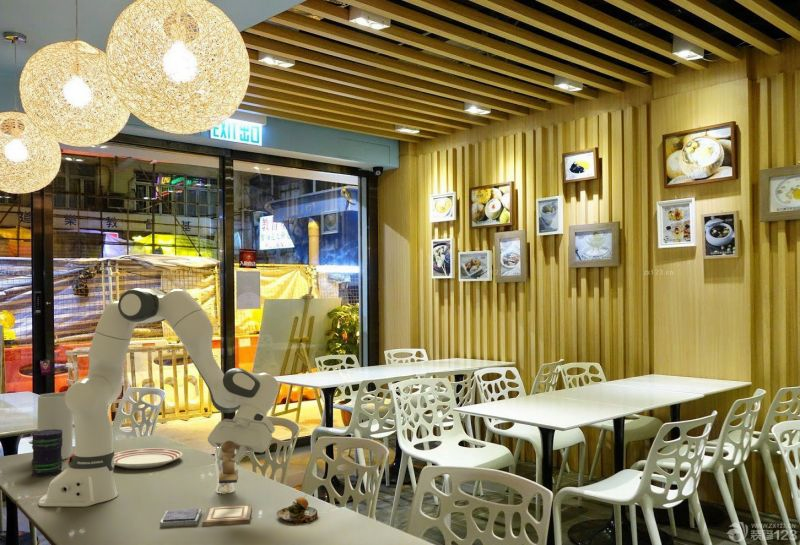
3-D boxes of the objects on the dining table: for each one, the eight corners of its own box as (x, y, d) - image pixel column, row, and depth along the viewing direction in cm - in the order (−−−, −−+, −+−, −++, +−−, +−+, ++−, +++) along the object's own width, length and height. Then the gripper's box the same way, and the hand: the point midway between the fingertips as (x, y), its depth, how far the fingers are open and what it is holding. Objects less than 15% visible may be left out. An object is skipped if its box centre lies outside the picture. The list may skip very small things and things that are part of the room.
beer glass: (230, 495, 216) (230, 448, 217) (210, 493, 218) (210, 447, 218) (239, 489, 223) (239, 443, 223) (220, 487, 224) (220, 442, 225)
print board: (202, 525, 188) (202, 521, 188) (207, 510, 200) (207, 506, 201) (249, 522, 190) (249, 518, 190) (251, 508, 203) (251, 504, 203)
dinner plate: (155, 451, 277) (155, 443, 277) (196, 461, 261) (196, 452, 261) (91, 465, 255) (91, 456, 255) (133, 476, 239) (133, 467, 239)
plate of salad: (281, 511, 201) (281, 486, 201) (320, 511, 200) (320, 486, 201) (272, 525, 189) (272, 498, 189) (313, 525, 188) (314, 499, 189)
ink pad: (159, 527, 186) (159, 520, 186) (166, 515, 196) (166, 509, 196) (196, 525, 188) (197, 518, 188) (201, 513, 198) (201, 507, 198)
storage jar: (64, 468, 249) (64, 428, 249) (59, 475, 239) (60, 433, 240) (34, 471, 246) (35, 430, 246) (28, 478, 236) (29, 435, 237)
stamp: (218, 483, 193) (219, 443, 193) (220, 478, 198) (220, 439, 198) (236, 482, 194) (236, 442, 194) (237, 477, 198) (238, 438, 199)
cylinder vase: (66, 452, 274) (67, 391, 275) (76, 458, 265) (77, 395, 266) (33, 457, 266) (34, 394, 267) (41, 463, 257) (42, 398, 257)
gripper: (216, 412, 207) (194, 451, 198) (270, 417, 198) (250, 458, 189) (226, 424, 211) (204, 462, 202) (279, 429, 202) (259, 470, 193)
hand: (227, 460), depth 195 cm, fingers closed on stamp, 3 cm apart
